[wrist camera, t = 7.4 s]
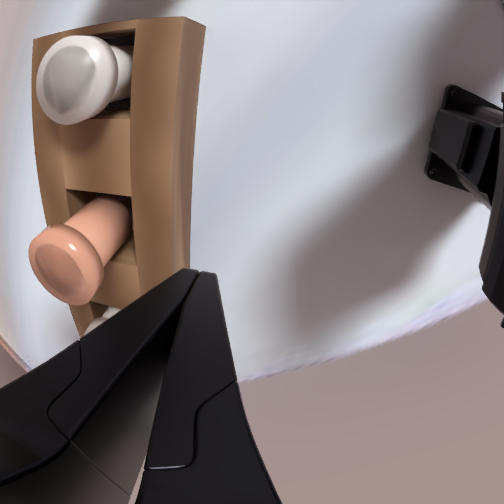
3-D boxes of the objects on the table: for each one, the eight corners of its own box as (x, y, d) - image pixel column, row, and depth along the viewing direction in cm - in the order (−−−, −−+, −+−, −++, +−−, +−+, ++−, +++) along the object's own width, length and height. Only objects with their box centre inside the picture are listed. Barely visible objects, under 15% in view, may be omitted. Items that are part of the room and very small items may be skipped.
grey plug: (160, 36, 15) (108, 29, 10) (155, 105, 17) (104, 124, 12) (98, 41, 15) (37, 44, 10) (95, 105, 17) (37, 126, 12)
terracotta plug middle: (137, 191, 18) (84, 243, 13) (141, 253, 20) (100, 313, 15) (78, 184, 18) (20, 229, 13) (86, 242, 21) (40, 294, 16)
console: (205, 26, 14) (184, 16, 11) (190, 331, 28) (178, 364, 25) (71, 37, 15) (33, 39, 11) (97, 308, 29) (80, 336, 25)
